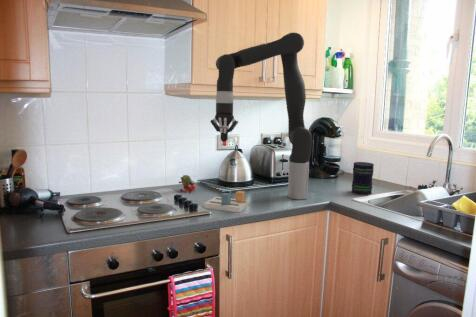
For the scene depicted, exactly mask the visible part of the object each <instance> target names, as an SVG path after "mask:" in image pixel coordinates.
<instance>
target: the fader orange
mask: <svg viewBox="0 0 476 317" xmlns="http://www.w3.org/2000/svg"><path fill="white" fill-rule="evenodd" d="M235 199H236V201H238V202H243V201H245V200H246V191H244V190H237V191H236V192H235Z"/></svg>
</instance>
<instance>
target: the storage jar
mask: <svg viewBox="0 0 476 317" xmlns="http://www.w3.org/2000/svg"><path fill="white" fill-rule="evenodd" d="M374 166H375V164H374V163H372V162H367V161H365V162H364V161H355V162H353V166H352V167H353V168H352V174H353V175H352V181H351V182H352V183H351V193H353V194H355V195H360V196H369V195H370V196H371V195H372V194H373V193H372V189H373V177H374V176H373V175H374V169H375V168H374Z"/></svg>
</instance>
